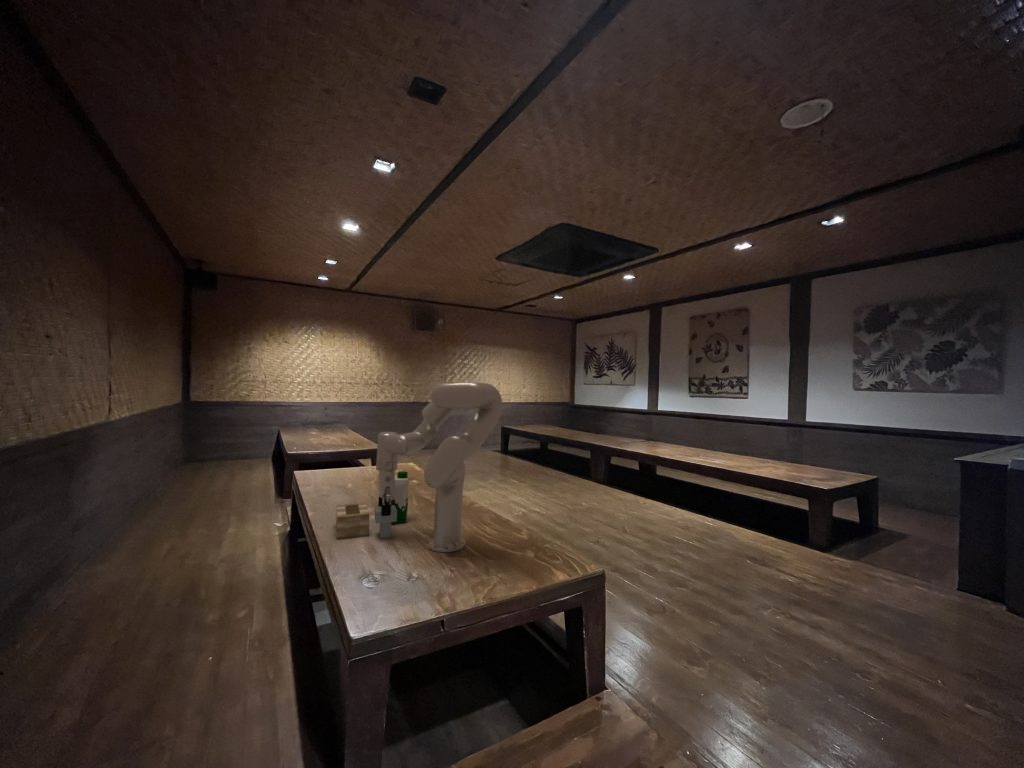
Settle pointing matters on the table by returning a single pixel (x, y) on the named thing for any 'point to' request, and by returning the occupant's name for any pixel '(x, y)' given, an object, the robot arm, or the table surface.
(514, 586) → the table surface
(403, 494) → the milk carton
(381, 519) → the t peg
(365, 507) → the slot rack
